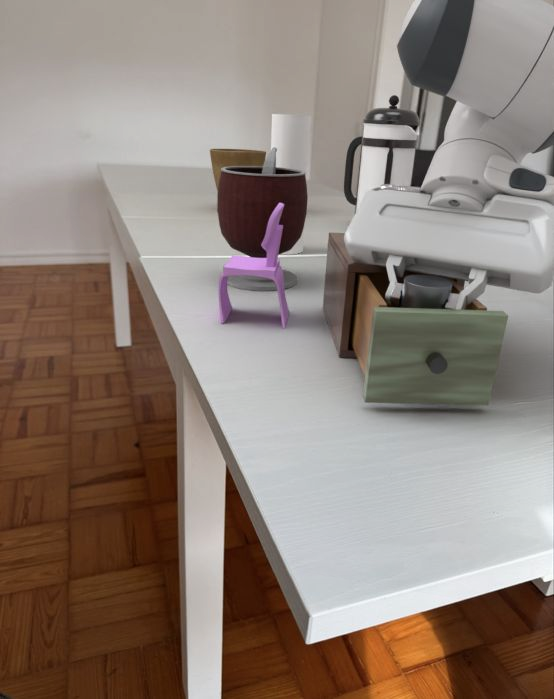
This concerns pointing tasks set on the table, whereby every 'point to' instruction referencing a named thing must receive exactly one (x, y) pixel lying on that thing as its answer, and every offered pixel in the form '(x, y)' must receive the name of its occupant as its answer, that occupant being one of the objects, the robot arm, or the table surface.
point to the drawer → (423, 347)
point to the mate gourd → (261, 213)
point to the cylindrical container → (292, 149)
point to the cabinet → (345, 291)
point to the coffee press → (383, 150)
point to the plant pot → (234, 159)
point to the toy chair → (258, 267)
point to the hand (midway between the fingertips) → (422, 309)
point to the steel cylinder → (425, 292)
